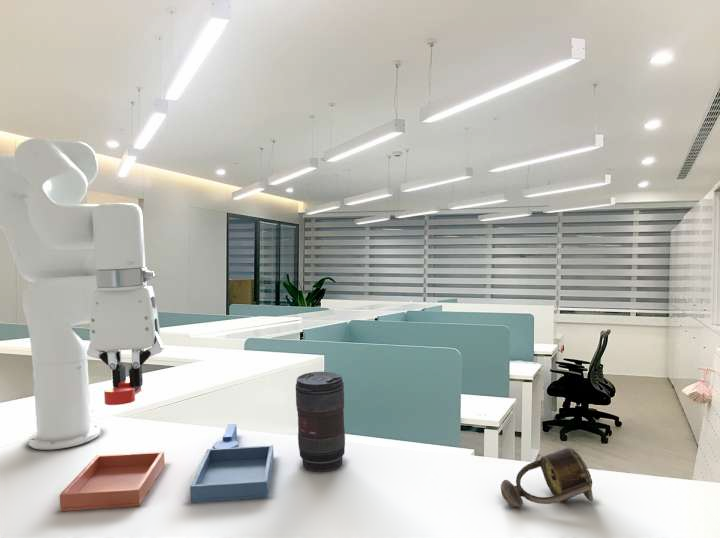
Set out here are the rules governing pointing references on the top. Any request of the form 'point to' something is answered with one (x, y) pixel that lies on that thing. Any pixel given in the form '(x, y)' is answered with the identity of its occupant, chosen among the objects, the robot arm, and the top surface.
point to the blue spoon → (228, 438)
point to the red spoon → (120, 394)
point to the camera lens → (320, 420)
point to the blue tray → (233, 474)
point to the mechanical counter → (553, 479)
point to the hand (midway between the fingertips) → (128, 390)
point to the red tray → (113, 481)
